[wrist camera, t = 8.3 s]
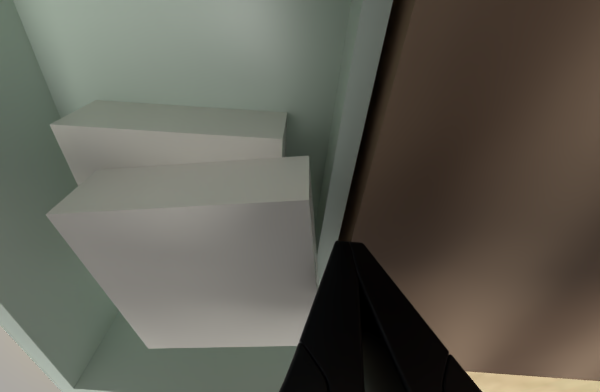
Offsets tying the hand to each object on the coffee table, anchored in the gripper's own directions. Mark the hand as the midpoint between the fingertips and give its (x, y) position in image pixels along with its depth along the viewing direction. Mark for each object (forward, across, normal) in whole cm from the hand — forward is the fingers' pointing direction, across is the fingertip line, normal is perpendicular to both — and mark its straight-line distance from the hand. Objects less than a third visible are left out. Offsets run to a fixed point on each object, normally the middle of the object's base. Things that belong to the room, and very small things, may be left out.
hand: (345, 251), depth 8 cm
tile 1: (+3, +5, 0) cm, 6 cm away
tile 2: (+1, +4, +1) cm, 4 cm away
